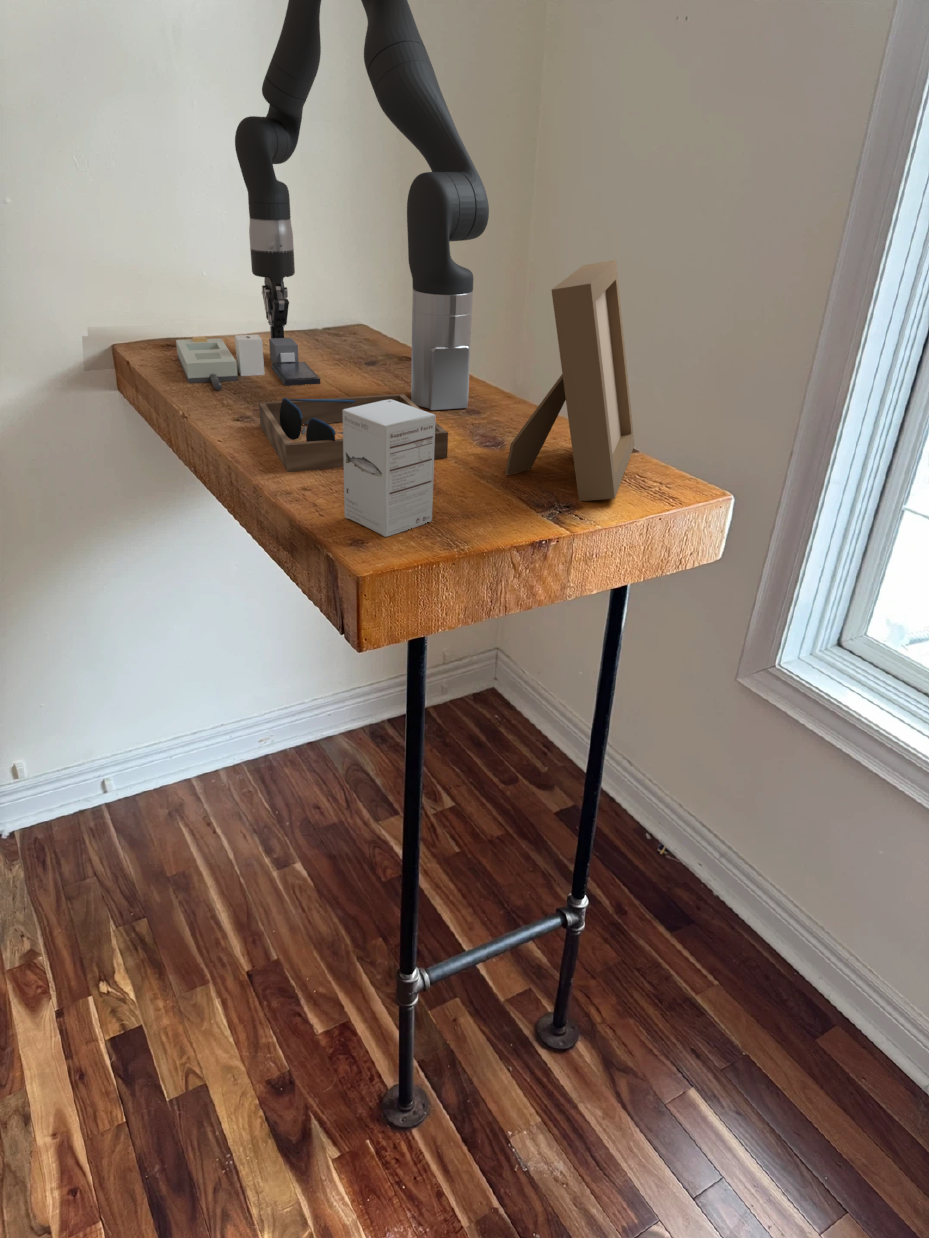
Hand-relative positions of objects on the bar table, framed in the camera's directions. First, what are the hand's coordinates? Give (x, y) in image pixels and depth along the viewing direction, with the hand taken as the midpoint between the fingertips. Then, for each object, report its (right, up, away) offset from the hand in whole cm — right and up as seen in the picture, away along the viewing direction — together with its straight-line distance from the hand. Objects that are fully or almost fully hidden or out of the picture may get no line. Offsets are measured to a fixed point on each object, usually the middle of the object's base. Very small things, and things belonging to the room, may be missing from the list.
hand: (278, 347), depth 164 cm
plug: (+2, -4, -3) cm, 6 cm away
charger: (-3, -8, -10) cm, 13 cm away
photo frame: (+49, -31, -47) cm, 74 cm away
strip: (-10, -8, -12) cm, 17 cm away
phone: (+5, -9, -11) cm, 15 cm away
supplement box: (+26, -40, -64) cm, 80 cm away
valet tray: (+19, -26, -41) cm, 52 cm away
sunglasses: (+19, -26, -41) cm, 52 cm away
